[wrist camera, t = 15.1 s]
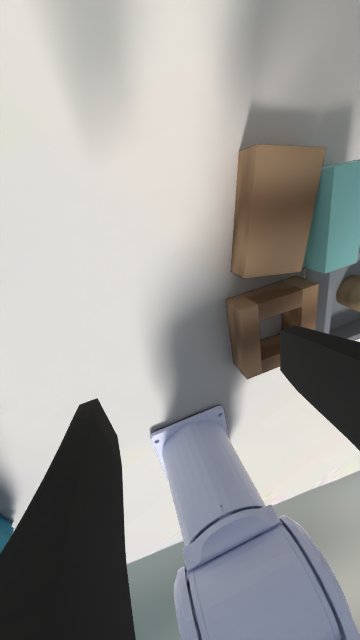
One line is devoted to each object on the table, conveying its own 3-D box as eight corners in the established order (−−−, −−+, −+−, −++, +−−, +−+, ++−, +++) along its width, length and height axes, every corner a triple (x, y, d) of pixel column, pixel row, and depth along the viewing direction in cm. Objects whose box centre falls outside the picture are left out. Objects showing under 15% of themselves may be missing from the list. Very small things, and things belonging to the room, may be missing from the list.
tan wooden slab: (280, 264, 21) (301, 271, 19) (228, 270, 20) (244, 278, 17) (298, 154, 17) (326, 147, 15) (236, 152, 16) (257, 144, 14)
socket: (294, 340, 25) (313, 353, 22) (233, 363, 24) (247, 379, 21) (296, 275, 21) (318, 283, 19) (225, 299, 20) (240, 310, 18)
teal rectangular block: (325, 255, 21) (357, 262, 19) (296, 265, 21) (324, 273, 18) (333, 164, 18) (373, 156, 15) (299, 172, 17) (334, 167, 15)
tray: (371, 314, 27) (396, 323, 24) (302, 340, 25) (321, 353, 23) (389, 229, 22) (420, 232, 20) (307, 256, 21) (331, 262, 19)
